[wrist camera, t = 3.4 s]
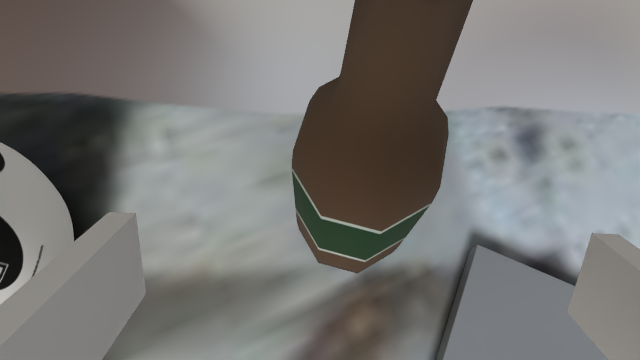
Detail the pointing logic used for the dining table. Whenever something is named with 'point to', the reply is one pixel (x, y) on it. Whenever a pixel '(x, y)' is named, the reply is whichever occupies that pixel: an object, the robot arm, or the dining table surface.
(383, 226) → the beer bottle
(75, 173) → the dining table surface
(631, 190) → the dining table surface
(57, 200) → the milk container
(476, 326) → the slate board
